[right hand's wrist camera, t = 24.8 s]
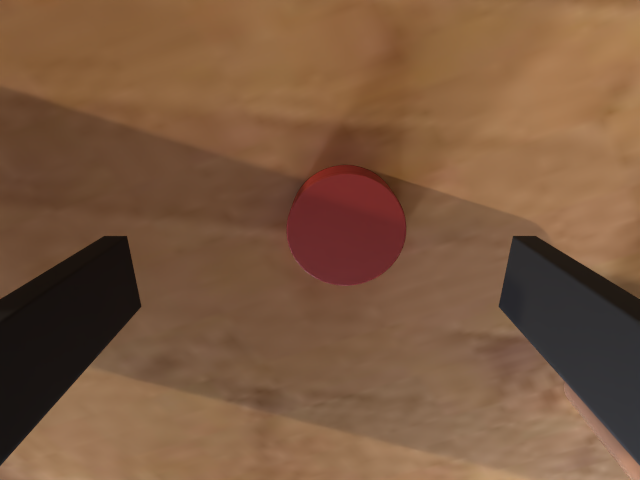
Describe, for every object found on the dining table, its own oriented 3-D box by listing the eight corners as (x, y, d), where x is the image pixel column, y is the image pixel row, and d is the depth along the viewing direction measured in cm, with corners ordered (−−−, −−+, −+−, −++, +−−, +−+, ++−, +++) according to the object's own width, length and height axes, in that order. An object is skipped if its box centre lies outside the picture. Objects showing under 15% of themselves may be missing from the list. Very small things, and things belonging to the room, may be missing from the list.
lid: (271, 199, 17) (263, 211, 15) (367, 143, 15) (371, 149, 14) (324, 282, 18) (324, 303, 16) (415, 236, 17) (426, 253, 15)
